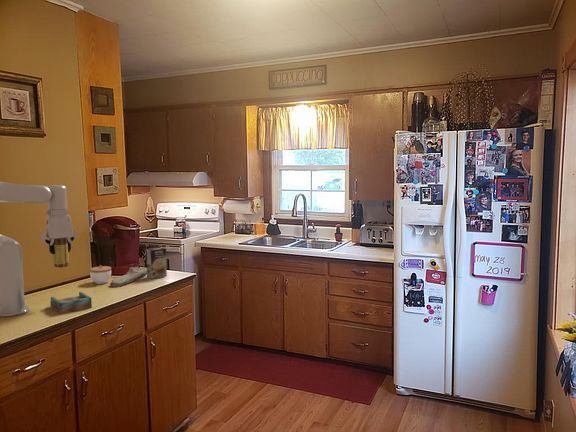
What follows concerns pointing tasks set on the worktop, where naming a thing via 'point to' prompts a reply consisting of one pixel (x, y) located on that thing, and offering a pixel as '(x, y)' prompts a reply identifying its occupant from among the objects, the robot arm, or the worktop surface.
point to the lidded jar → (100, 274)
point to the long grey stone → (129, 276)
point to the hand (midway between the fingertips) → (60, 252)
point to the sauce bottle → (61, 252)
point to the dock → (71, 303)
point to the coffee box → (156, 263)
